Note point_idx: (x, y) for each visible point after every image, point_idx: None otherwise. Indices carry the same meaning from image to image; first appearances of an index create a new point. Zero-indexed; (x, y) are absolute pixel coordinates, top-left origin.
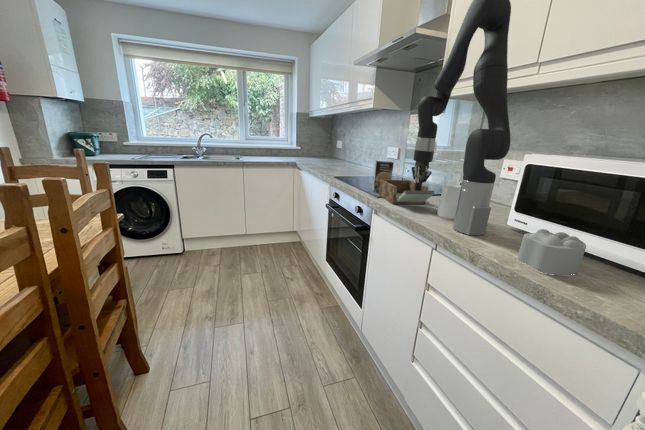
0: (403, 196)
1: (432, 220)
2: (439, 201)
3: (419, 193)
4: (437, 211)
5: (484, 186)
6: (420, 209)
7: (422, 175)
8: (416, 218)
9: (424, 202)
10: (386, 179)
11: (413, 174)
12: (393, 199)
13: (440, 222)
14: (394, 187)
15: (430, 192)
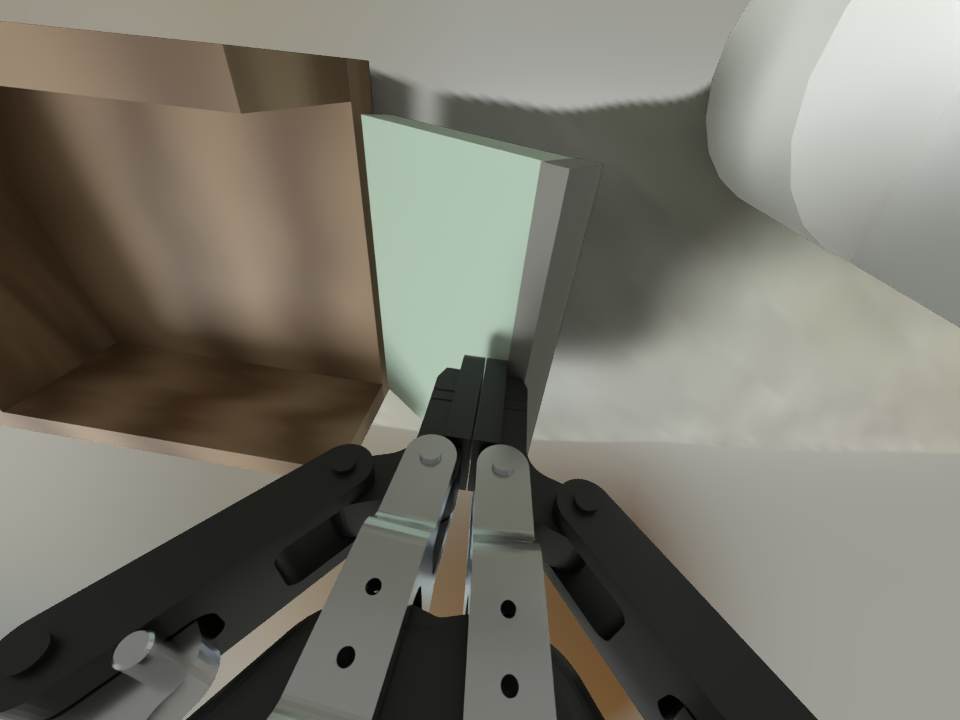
0: None
1: (826, 350)
2: (821, 247)
3: (546, 379)
4: (736, 190)
5: None
6: None
7: (634, 686)
8: (724, 413)
9: (359, 77)
10: None
11: (295, 573)
12: (382, 399)
13: (905, 326)
14: None
15: (572, 241)
